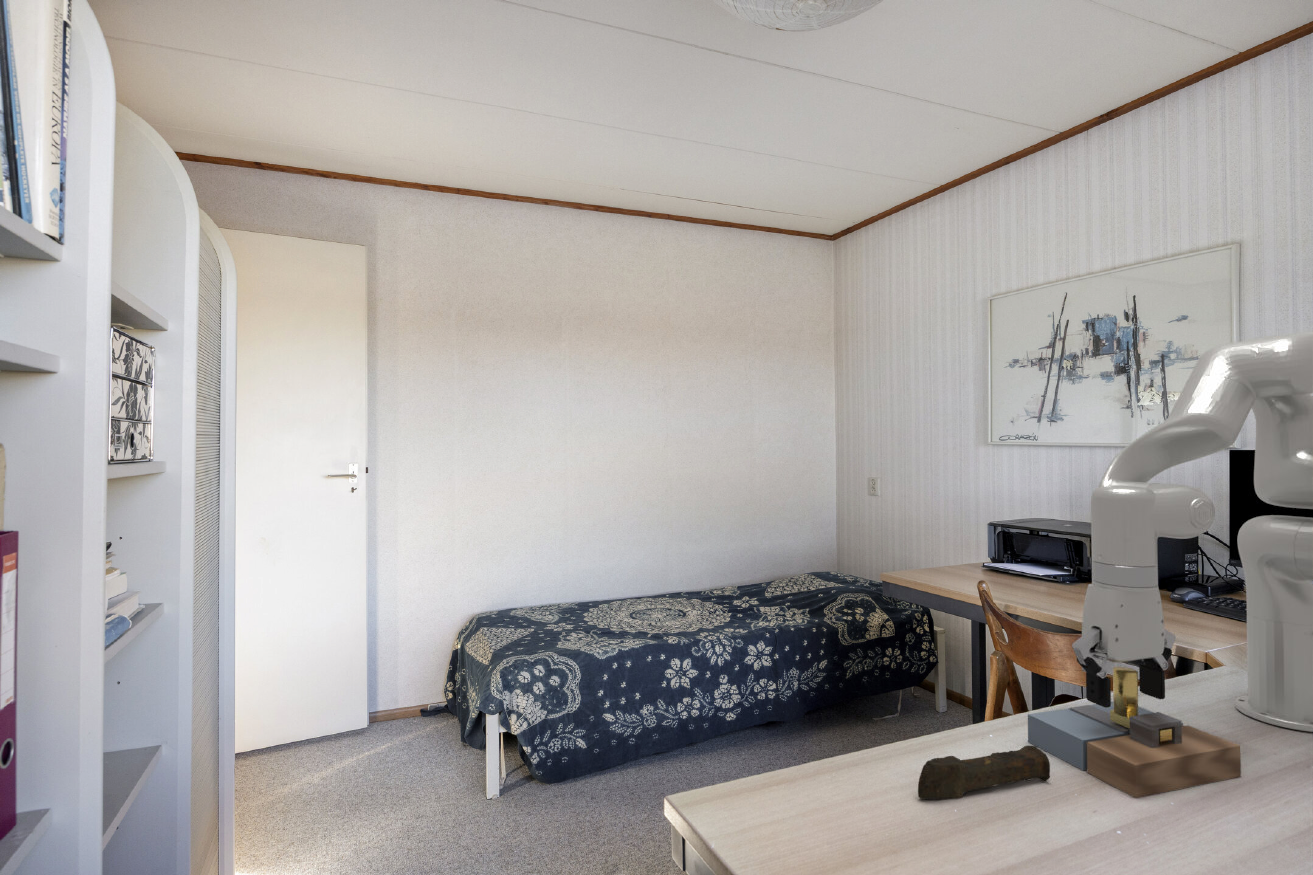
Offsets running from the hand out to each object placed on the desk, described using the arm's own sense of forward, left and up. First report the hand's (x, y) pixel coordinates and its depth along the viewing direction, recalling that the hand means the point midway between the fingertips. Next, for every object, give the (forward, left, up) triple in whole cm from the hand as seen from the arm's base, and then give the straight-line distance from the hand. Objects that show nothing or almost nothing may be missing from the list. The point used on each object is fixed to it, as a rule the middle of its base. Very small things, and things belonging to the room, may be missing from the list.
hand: (1125, 699), depth 93 cm
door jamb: (0, +5, -8) cm, 9 cm away
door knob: (0, +2, -3) cm, 4 cm away
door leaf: (0, -3, -8) cm, 9 cm away
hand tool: (+25, +1, -8) cm, 26 cm away
